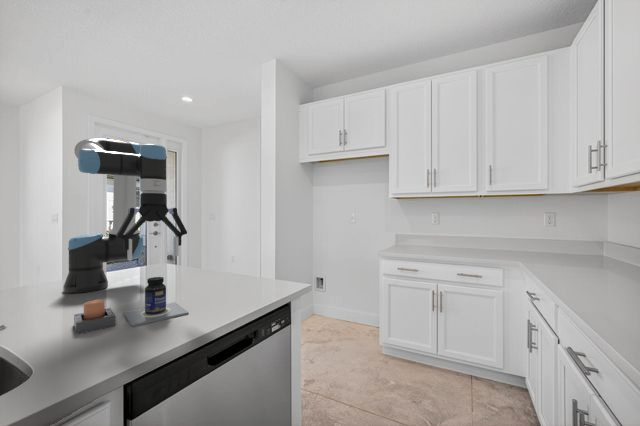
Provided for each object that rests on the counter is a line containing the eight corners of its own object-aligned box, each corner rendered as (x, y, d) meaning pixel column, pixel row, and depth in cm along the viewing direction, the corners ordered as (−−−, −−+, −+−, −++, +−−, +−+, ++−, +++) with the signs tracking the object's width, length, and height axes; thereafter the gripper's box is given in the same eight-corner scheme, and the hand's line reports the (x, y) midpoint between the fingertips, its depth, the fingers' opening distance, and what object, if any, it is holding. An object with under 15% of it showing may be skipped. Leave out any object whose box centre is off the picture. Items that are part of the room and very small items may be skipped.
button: (83, 318, 89) (82, 302, 89) (103, 314, 92) (103, 298, 92) (84, 323, 85) (84, 306, 85) (105, 319, 89) (105, 302, 89)
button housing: (74, 324, 89) (73, 314, 89) (110, 317, 95) (110, 307, 95) (76, 334, 82) (76, 323, 82) (115, 325, 89) (115, 315, 88)
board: (123, 314, 98) (123, 312, 98) (175, 303, 109) (175, 301, 109) (132, 326, 88) (132, 324, 88) (188, 313, 98) (188, 311, 98)
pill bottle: (156, 315, 95) (156, 281, 95) (140, 314, 96) (140, 280, 96) (170, 309, 101) (170, 276, 101) (154, 308, 102) (154, 275, 102)
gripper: (109, 190, 86) (109, 264, 86) (196, 193, 103) (196, 255, 103) (105, 191, 92) (105, 260, 92) (189, 194, 108) (189, 252, 109)
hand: (154, 257), depth 98 cm, fingers open, 13 cm apart
